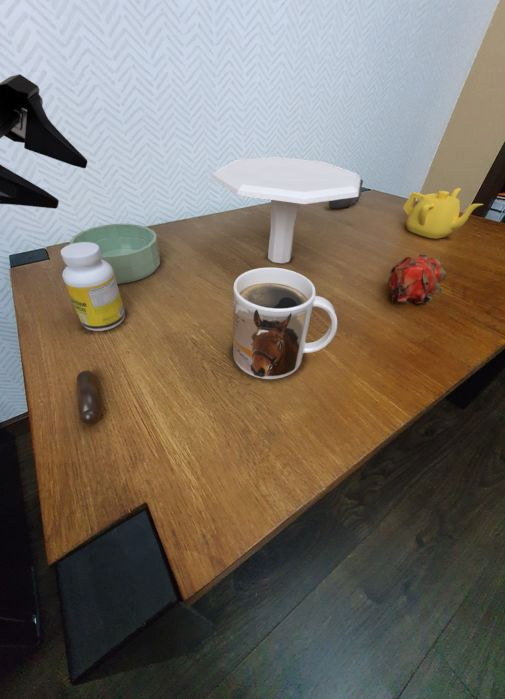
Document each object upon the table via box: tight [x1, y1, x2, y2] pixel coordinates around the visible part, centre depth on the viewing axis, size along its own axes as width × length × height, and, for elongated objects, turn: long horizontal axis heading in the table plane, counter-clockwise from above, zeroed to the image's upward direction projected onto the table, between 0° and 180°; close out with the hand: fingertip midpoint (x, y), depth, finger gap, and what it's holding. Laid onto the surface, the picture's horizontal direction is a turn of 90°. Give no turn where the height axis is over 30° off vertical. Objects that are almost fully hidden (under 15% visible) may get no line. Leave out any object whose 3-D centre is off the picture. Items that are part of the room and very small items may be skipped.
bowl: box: [69, 223, 162, 285], centre depth 60 cm, size 15×15×6 cm
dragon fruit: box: [387, 253, 447, 304], centre depth 54 cm, size 8×8×12 cm
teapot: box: [402, 187, 484, 239], centre depth 79 cm, size 14×13×10 cm
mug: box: [232, 266, 338, 380], centre depth 40 cm, size 10×12×11 cm
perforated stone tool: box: [328, 178, 364, 210], centre depth 93 cm, size 15×5×7 cm, turn 132°
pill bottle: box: [60, 242, 126, 332], centre depth 44 cm, size 6×6×12 cm
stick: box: [76, 370, 101, 426], centre depth 36 cm, size 2×8×2 cm, turn 26°
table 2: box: [210, 156, 362, 264], centre depth 61 cm, size 28×28×17 cm
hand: (73, 183), depth 37 cm, fingers open, 9 cm apart
